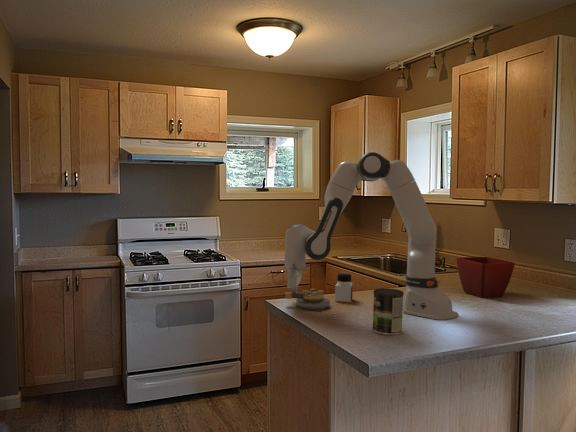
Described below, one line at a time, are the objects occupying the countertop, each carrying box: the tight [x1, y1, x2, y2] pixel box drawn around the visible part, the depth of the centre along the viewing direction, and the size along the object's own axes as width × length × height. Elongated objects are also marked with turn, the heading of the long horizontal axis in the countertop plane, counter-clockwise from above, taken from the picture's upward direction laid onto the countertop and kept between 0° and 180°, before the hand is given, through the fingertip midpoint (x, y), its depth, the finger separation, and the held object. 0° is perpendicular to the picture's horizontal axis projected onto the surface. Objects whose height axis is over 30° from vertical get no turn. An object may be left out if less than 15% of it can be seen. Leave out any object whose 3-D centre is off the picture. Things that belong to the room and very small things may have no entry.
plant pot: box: [456, 256, 516, 299], centre depth 238 cm, size 19×19×17 cm
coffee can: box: [372, 288, 404, 336], centre depth 174 cm, size 10×10×14 cm
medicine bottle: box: [334, 272, 354, 303], centre depth 220 cm, size 7×7×12 cm
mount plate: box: [295, 297, 331, 311], centre depth 208 cm, size 14×14×3 cm
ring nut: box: [285, 288, 325, 302], centre depth 208 cm, size 16×9×4 cm, turn 90°
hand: (294, 295), depth 210 cm, fingers closed
